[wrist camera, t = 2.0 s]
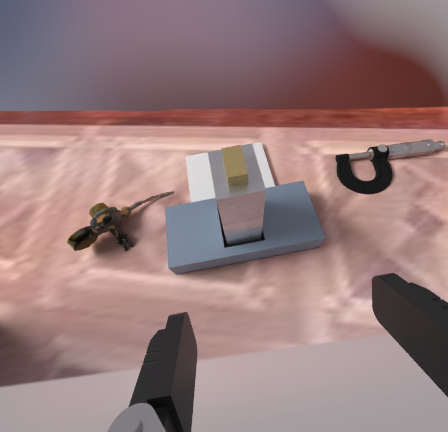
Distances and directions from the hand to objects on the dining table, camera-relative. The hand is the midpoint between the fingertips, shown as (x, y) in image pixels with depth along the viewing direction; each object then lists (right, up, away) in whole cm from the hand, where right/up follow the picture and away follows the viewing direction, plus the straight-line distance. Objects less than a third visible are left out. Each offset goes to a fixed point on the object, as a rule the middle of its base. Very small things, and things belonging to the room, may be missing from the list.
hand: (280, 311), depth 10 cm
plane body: (0, +2, +21) cm, 21 cm away
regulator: (-16, +3, +24) cm, 29 cm away
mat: (-2, +10, +26) cm, 28 cm away
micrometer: (+21, +10, +24) cm, 33 cm away
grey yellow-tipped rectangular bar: (0, +2, +21) cm, 21 cm away
